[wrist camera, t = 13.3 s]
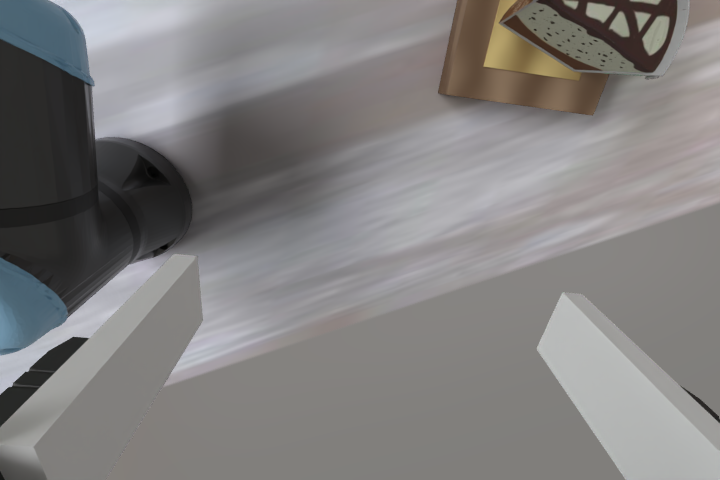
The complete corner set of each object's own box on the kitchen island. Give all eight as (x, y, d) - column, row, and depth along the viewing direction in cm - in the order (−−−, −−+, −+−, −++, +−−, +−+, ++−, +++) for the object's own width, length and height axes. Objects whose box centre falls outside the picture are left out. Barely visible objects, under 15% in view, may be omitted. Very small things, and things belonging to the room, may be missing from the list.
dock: (438, 93, 39) (447, 94, 35) (482, -120, 31) (500, -148, 27) (571, 111, 40) (594, 115, 36) (645, -89, 32) (684, -111, 28)
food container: (630, 14, 32) (738, -10, 23) (585, 79, 35) (667, 79, 26) (526, -60, 30) (602, -120, 21) (485, 15, 32) (538, -10, 23)
